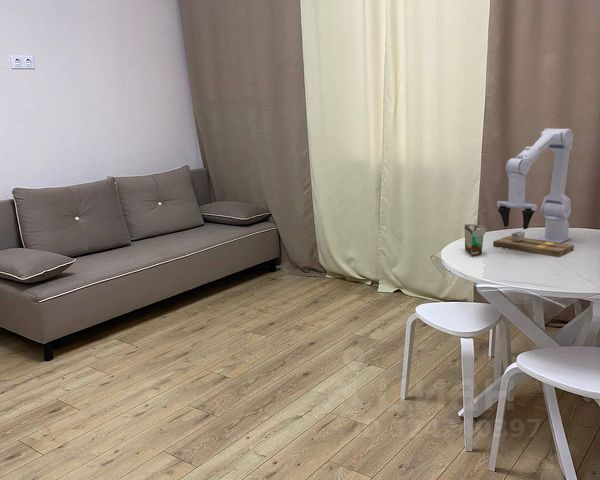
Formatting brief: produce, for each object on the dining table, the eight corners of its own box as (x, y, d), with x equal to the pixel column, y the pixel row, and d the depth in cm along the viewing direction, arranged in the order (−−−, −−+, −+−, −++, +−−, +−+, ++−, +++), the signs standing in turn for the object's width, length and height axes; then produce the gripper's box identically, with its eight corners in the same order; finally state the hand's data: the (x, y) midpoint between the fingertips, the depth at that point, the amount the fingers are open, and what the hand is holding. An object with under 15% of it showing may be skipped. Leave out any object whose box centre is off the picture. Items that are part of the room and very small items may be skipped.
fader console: (509, 240, 241) (509, 235, 240) (573, 250, 222) (573, 244, 221) (493, 246, 233) (493, 241, 233) (558, 257, 214) (558, 251, 214)
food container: (489, 256, 219) (489, 230, 217) (472, 257, 220) (472, 231, 217) (480, 248, 231) (480, 223, 229) (464, 249, 232) (464, 224, 229)
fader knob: (517, 238, 234) (517, 230, 233) (524, 239, 232) (524, 231, 231) (511, 240, 231) (511, 233, 230) (518, 241, 229) (518, 234, 228)
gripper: (493, 191, 220) (492, 227, 224) (530, 194, 210) (529, 232, 213) (502, 188, 225) (502, 223, 228) (540, 191, 215) (538, 228, 218)
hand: (515, 227), depth 221 cm, fingers open, 7 cm apart
